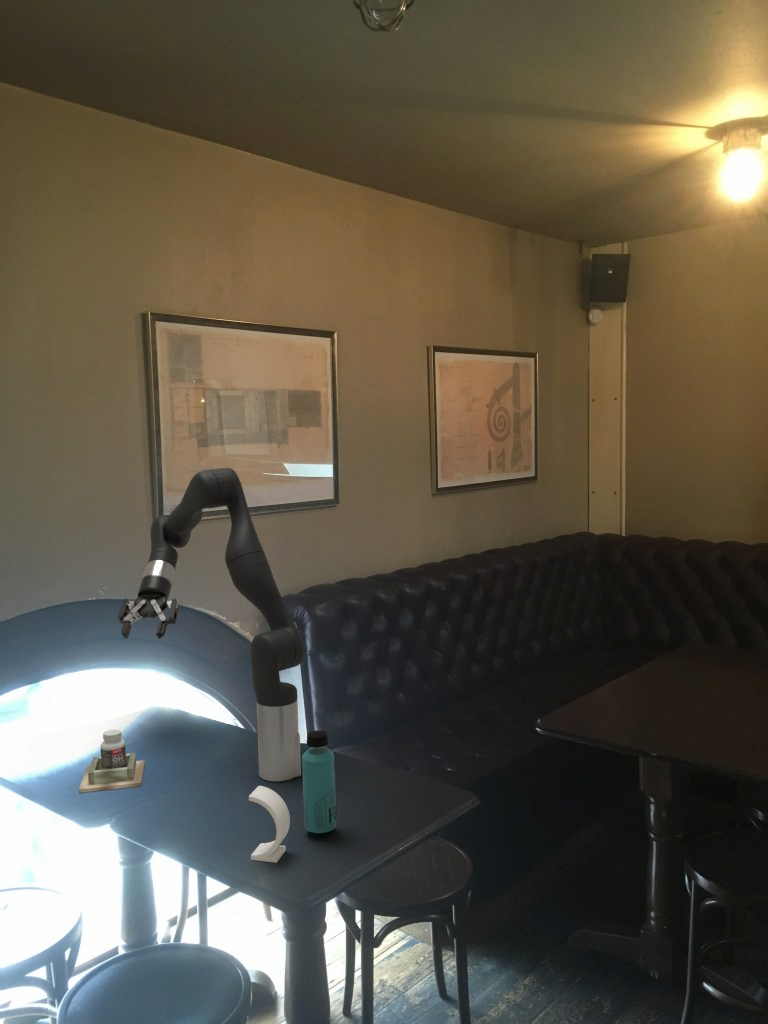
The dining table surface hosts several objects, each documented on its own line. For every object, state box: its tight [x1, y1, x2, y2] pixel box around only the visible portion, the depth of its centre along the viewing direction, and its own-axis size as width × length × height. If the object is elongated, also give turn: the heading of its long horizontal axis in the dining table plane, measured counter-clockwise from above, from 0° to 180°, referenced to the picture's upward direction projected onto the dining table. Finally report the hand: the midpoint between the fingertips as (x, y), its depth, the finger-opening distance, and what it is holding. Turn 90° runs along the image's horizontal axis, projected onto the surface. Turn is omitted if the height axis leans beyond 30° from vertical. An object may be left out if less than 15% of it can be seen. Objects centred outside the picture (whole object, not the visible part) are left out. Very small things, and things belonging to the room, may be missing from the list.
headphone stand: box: [248, 785, 291, 864], centre depth 148 cm, size 5×6×12 cm
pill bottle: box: [100, 728, 127, 770], centre depth 184 cm, size 5×5×10 cm
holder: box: [78, 752, 146, 794], centre depth 184 cm, size 13×13×4 cm
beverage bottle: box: [301, 730, 338, 834], centre depth 156 cm, size 6×7×20 cm
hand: (141, 636), depth 197 cm, fingers open, 8 cm apart
